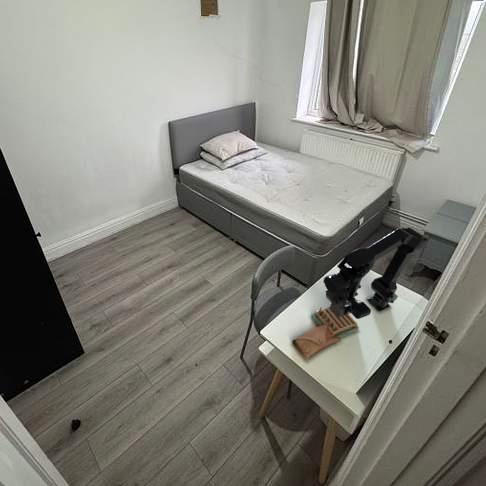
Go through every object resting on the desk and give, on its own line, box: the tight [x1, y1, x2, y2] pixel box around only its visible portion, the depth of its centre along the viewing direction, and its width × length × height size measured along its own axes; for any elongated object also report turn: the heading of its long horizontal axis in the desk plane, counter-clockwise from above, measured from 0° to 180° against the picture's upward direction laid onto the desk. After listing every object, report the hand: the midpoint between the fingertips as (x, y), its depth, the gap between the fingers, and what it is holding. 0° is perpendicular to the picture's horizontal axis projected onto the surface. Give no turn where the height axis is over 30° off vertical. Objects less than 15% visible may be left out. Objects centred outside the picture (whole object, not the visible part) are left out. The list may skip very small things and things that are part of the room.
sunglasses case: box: [291, 321, 342, 361], centre depth 110 cm, size 18×7×7 cm, turn 118°
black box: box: [329, 301, 351, 318], centre depth 111 cm, size 6×5×6 cm
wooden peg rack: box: [311, 306, 360, 339], centre depth 115 cm, size 13×12×8 cm
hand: (340, 308), depth 112 cm, fingers closed on black box, 5 cm apart
